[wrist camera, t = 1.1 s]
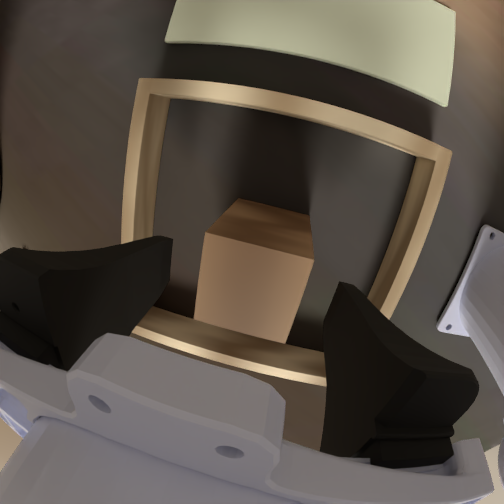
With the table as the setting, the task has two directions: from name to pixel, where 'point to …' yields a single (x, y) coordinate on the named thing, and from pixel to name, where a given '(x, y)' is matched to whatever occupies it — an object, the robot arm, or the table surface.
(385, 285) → the box
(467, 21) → the table surface
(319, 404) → the table surface
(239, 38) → the place mat
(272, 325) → the walnut block
